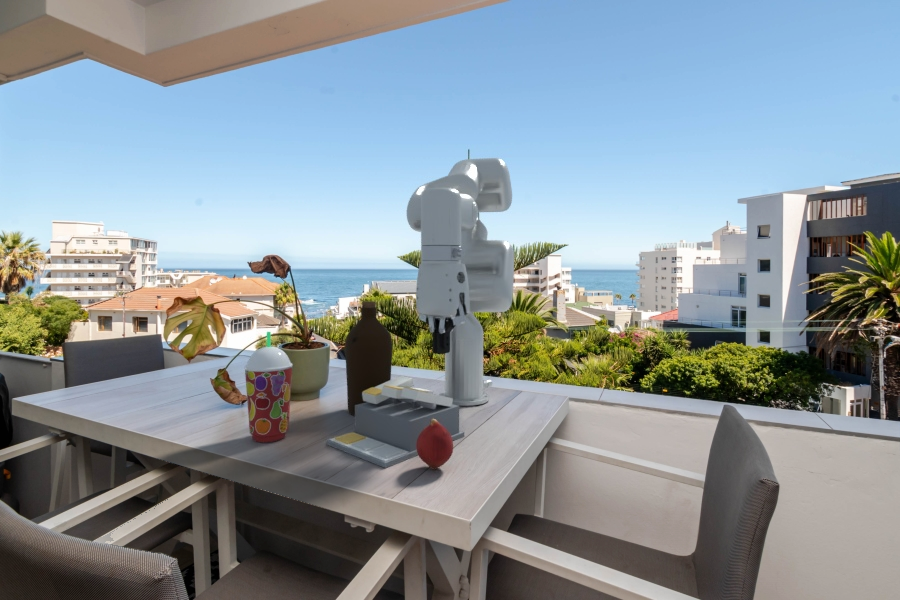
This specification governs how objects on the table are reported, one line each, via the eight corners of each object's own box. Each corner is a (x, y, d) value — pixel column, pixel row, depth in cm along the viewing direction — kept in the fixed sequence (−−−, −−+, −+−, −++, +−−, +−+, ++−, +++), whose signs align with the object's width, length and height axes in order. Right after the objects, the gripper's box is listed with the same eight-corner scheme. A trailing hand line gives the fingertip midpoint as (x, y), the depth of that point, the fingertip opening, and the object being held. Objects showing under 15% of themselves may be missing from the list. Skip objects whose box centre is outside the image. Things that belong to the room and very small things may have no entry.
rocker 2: (417, 401, 92) (419, 387, 92) (431, 404, 89) (433, 390, 90) (380, 400, 84) (382, 385, 85) (394, 404, 82) (396, 388, 82)
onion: (442, 459, 76) (443, 411, 76) (459, 471, 71) (460, 421, 71) (410, 465, 74) (410, 416, 73) (426, 479, 69) (426, 426, 68)
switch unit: (406, 419, 98) (406, 385, 98) (464, 436, 88) (464, 398, 87) (326, 444, 83) (326, 403, 83) (385, 468, 73) (385, 422, 72)
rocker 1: (401, 387, 95) (399, 374, 95) (414, 390, 93) (412, 377, 92) (363, 405, 88) (361, 391, 87) (376, 409, 85) (374, 395, 85)
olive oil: (389, 417, 99) (390, 302, 98) (340, 417, 99) (340, 302, 98) (394, 404, 110) (394, 300, 109) (349, 404, 110) (349, 300, 109)
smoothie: (278, 427, 92) (277, 328, 91) (301, 436, 87) (301, 331, 86) (236, 438, 86) (235, 332, 85) (259, 449, 80) (258, 335, 80)
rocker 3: (435, 408, 89) (438, 394, 89) (450, 412, 86) (453, 397, 87) (399, 402, 81) (403, 386, 82) (414, 405, 79) (418, 389, 79)
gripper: (485, 256, 84) (484, 355, 85) (425, 256, 93) (426, 345, 95) (459, 255, 78) (459, 361, 79) (398, 256, 88) (399, 351, 89)
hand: (441, 352), depth 87 cm, fingers closed
